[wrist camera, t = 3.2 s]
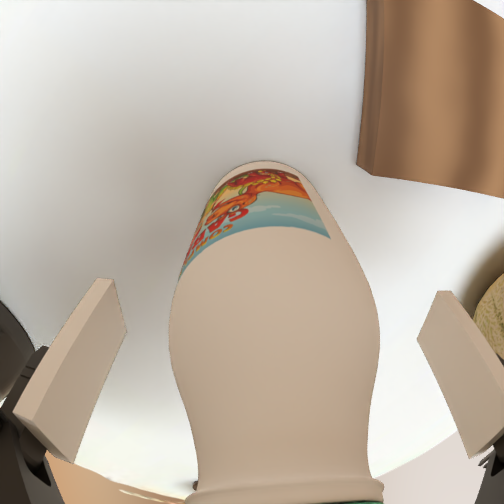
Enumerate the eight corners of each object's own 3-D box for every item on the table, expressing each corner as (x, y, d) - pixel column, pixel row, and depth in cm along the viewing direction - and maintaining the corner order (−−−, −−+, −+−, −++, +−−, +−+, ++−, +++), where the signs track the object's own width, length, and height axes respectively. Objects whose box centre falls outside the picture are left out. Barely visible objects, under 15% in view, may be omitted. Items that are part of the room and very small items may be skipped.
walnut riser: (356, 164, 19) (372, 175, 16) (365, -24, 12) (381, -38, 10) (496, 189, 19) (518, 202, 17) (510, 39, 13) (533, 39, 10)
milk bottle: (334, 175, 20) (543, 487, 2) (300, 272, 23) (355, 566, 5) (219, 147, 19) (31, 545, 1) (199, 251, 22) (124, 561, 5)
